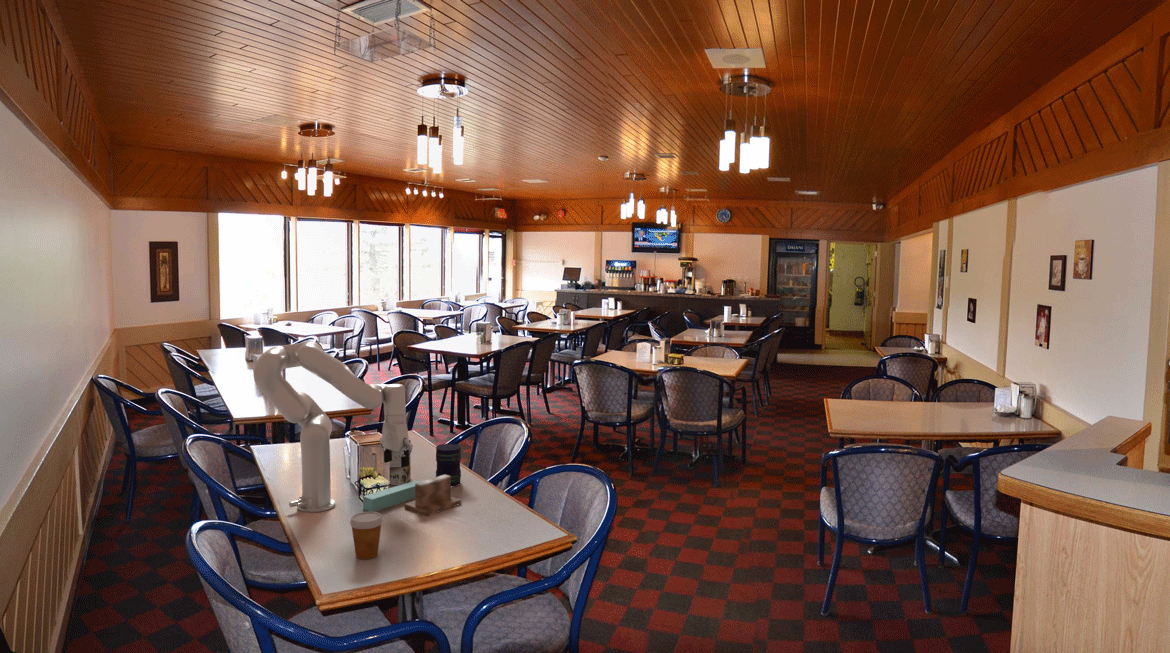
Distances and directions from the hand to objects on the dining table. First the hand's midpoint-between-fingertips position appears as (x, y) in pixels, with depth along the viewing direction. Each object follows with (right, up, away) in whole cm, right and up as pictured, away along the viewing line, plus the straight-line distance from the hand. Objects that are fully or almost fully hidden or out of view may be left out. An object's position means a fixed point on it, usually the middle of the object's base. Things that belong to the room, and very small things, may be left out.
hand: (396, 464), depth 256 cm
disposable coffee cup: (+3, -19, -45) cm, 49 cm away
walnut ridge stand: (+14, -15, -2) cm, 20 cm away
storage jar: (+14, -13, +23) cm, 30 cm away
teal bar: (-1, -14, +1) cm, 15 cm away
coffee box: (-5, -12, +24) cm, 27 cm away
